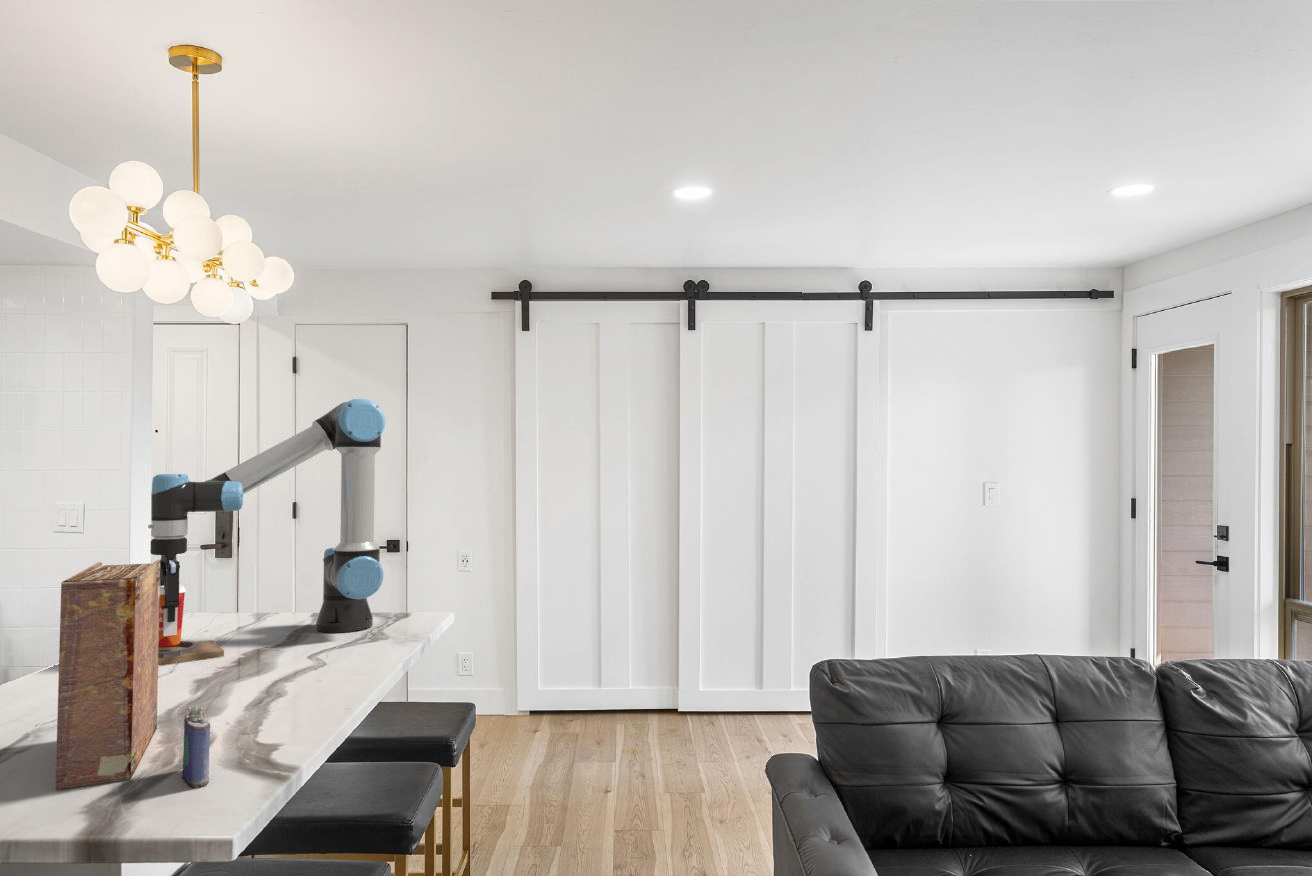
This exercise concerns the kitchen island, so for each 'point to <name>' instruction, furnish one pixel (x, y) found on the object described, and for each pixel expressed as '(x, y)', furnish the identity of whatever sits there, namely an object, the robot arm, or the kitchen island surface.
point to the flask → (196, 748)
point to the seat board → (188, 652)
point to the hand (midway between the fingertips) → (167, 632)
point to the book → (107, 672)
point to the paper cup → (175, 639)
